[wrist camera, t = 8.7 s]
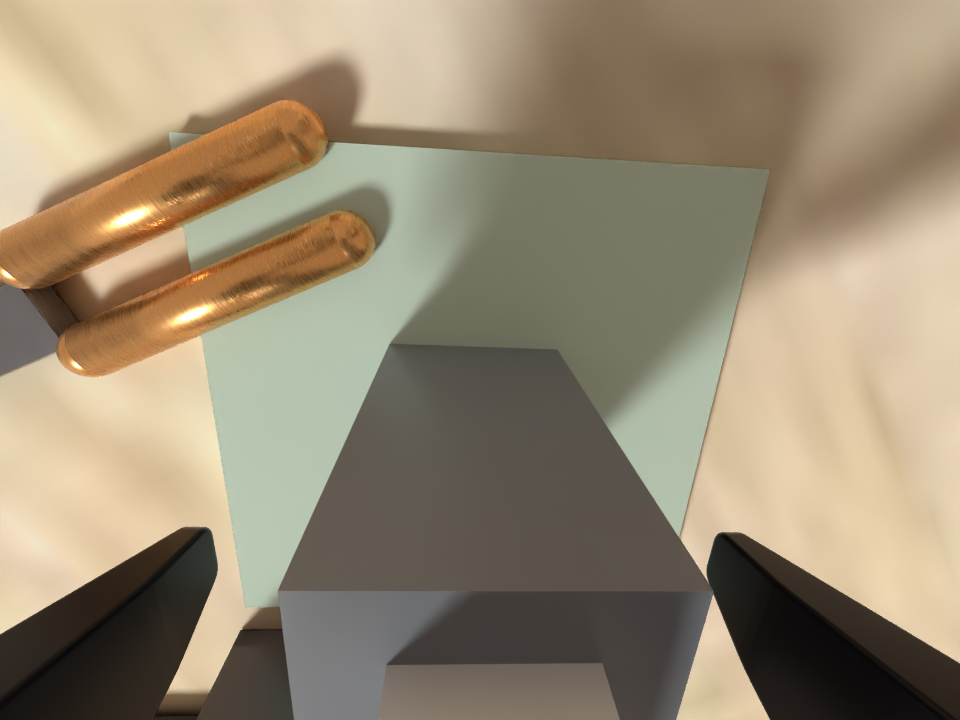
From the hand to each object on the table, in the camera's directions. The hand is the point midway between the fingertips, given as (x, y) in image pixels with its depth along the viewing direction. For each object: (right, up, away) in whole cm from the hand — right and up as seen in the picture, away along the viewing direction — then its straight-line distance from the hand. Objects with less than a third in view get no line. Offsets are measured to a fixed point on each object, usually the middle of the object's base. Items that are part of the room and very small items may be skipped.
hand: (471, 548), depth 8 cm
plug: (0, +2, +5) cm, 5 cm away
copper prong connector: (-9, +5, +3) cm, 11 cm away
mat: (0, +2, +5) cm, 6 cm away
